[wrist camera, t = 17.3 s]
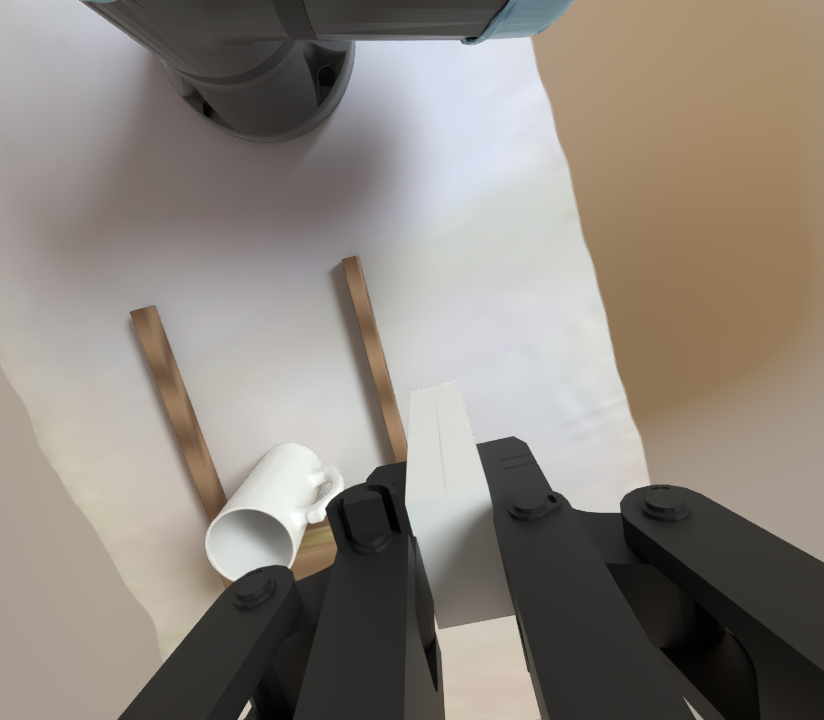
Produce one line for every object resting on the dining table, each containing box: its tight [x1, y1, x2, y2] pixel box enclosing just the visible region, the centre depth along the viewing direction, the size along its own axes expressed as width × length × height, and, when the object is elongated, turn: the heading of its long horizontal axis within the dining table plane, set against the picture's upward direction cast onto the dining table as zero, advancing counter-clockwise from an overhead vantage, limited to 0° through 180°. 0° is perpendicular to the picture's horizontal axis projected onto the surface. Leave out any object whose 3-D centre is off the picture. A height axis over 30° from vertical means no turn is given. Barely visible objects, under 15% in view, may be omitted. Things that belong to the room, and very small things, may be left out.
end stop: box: [220, 514, 337, 589], centre depth 45 cm, size 3×17×6 cm, turn 104°
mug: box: [205, 443, 344, 582], centre depth 40 cm, size 10×7×12 cm, turn 110°
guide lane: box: [130, 256, 408, 523], centre depth 44 cm, size 24×20×2 cm
